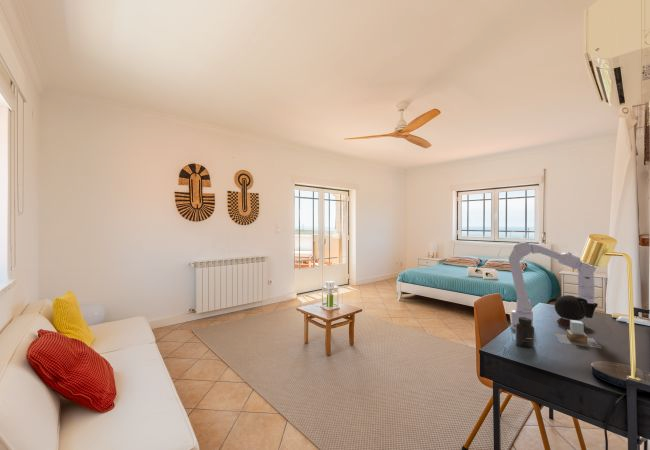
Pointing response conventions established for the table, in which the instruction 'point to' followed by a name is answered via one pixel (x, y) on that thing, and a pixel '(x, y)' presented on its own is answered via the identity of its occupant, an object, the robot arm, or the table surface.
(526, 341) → the supplement bottle
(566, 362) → the table surface
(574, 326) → the pale grey small block
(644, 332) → the table surface
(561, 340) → the mat
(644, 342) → the table surface
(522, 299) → the robot arm
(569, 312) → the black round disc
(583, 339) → the walnut block
